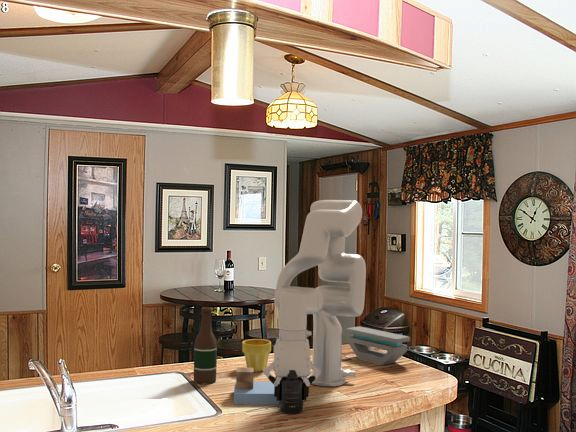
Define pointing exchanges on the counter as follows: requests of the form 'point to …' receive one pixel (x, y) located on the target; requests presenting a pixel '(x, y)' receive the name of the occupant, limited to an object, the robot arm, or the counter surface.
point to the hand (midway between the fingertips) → (291, 398)
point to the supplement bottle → (291, 393)
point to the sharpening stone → (376, 345)
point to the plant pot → (256, 353)
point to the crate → (244, 378)
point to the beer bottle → (205, 351)
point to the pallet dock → (256, 394)
